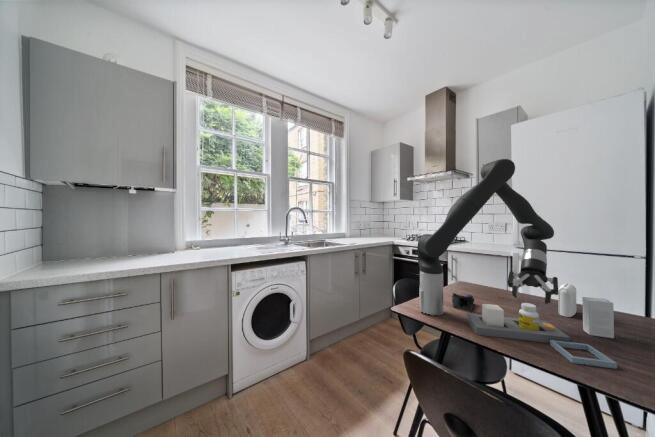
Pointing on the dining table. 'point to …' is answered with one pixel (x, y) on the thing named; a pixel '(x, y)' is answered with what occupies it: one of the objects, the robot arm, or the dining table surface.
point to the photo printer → (567, 300)
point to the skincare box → (598, 317)
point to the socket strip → (511, 326)
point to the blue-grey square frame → (580, 360)
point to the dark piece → (463, 301)
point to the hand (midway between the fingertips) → (530, 299)
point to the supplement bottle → (528, 317)
